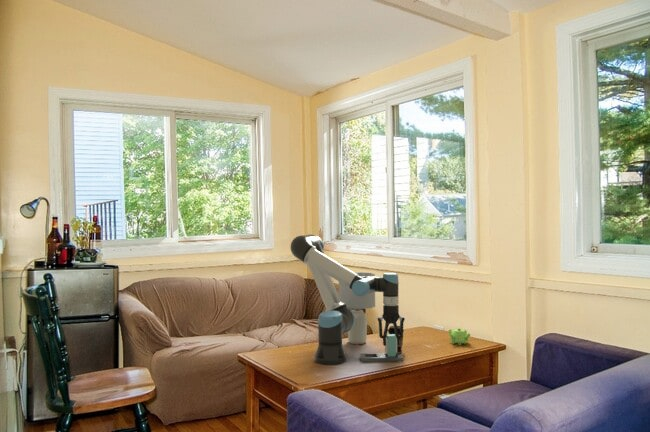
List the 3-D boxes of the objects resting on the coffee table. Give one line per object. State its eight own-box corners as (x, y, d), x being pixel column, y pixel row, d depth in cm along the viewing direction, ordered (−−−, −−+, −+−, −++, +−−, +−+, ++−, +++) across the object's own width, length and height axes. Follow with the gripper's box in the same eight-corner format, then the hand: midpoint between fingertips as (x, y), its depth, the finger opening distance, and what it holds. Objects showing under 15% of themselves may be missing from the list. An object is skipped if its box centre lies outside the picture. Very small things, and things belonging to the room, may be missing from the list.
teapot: (469, 341, 290) (469, 326, 290) (470, 346, 279) (470, 331, 279) (448, 340, 292) (448, 325, 292) (449, 345, 281) (449, 330, 281)
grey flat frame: (362, 362, 250) (361, 358, 250) (360, 357, 259) (359, 353, 259) (403, 361, 251) (403, 357, 251) (399, 356, 260) (399, 352, 260)
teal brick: (387, 356, 253) (387, 336, 253) (386, 354, 257) (386, 334, 257) (396, 356, 253) (395, 336, 253) (394, 354, 257) (394, 334, 257)
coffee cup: (407, 351, 269) (407, 326, 269) (398, 354, 263) (398, 329, 263) (393, 348, 275) (393, 324, 275) (384, 351, 269) (384, 326, 269)
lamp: (331, 342, 290) (331, 273, 290) (356, 336, 304) (356, 270, 304) (357, 349, 275) (357, 275, 275) (383, 342, 289) (382, 272, 289)
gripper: (374, 306, 251) (375, 354, 251) (409, 305, 252) (410, 353, 252) (372, 303, 258) (372, 350, 258) (406, 303, 259) (406, 349, 259)
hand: (391, 351), depth 255 cm, fingers closed on teal brick, 4 cm apart
